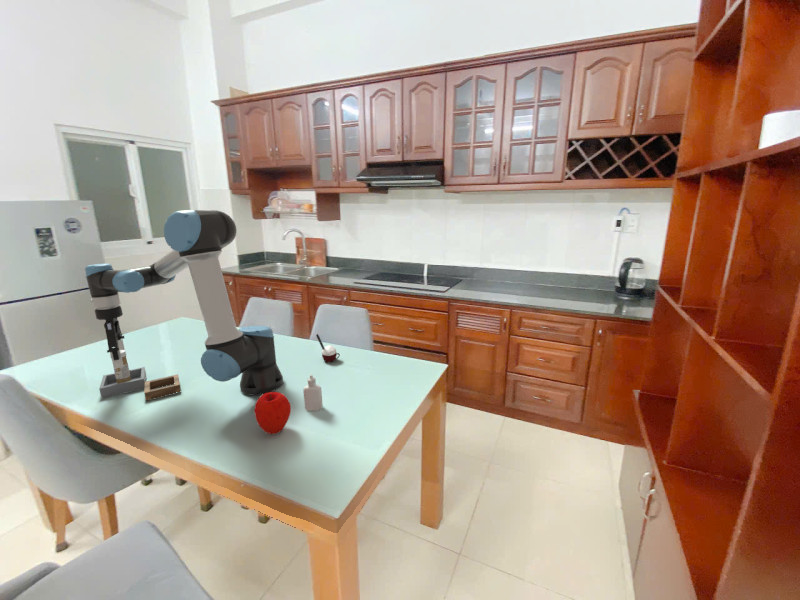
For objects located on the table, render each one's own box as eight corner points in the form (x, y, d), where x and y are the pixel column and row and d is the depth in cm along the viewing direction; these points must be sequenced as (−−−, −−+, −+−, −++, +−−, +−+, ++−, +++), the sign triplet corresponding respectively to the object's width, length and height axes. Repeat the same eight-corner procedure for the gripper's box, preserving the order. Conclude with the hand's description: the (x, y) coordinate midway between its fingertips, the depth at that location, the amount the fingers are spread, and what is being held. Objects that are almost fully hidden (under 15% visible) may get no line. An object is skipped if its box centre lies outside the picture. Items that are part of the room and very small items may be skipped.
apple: (296, 420, 110) (292, 384, 108) (287, 440, 101) (283, 401, 98) (263, 421, 110) (259, 386, 107) (252, 441, 101) (246, 402, 98)
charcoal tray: (145, 387, 133) (143, 378, 132) (101, 398, 126) (99, 388, 125) (146, 375, 144) (144, 366, 143) (105, 384, 137) (103, 375, 136)
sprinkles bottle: (114, 386, 133) (107, 353, 130) (128, 381, 137) (120, 348, 134) (121, 388, 131) (114, 354, 128) (135, 383, 136) (128, 350, 132)
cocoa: (341, 360, 156) (341, 334, 153) (332, 365, 151) (332, 338, 148) (324, 356, 160) (323, 330, 157) (315, 360, 155) (314, 334, 152)
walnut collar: (181, 392, 130) (179, 384, 129) (145, 400, 124) (144, 393, 123) (179, 381, 138) (178, 374, 138) (146, 389, 132) (144, 381, 132)
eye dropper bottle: (312, 403, 120) (309, 370, 117) (324, 407, 117) (322, 374, 115) (303, 409, 117) (299, 375, 114) (315, 413, 114) (312, 379, 111)
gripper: (98, 302, 136) (110, 353, 141) (89, 316, 115) (103, 376, 120) (123, 299, 140) (134, 349, 145) (117, 312, 119) (130, 370, 125)
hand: (120, 361), depth 133 cm, fingers open, 13 cm apart
